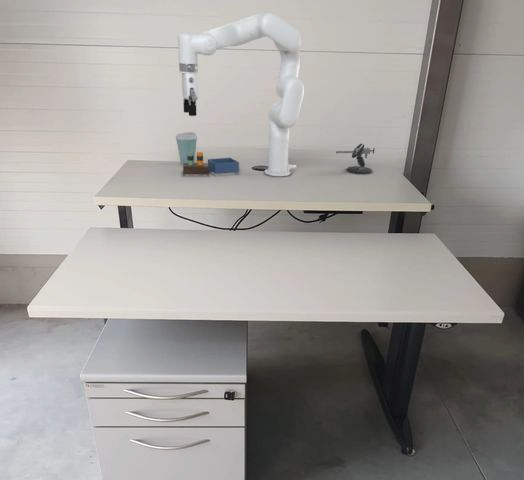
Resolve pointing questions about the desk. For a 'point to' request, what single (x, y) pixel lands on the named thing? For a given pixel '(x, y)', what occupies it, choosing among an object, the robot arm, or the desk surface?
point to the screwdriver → (199, 158)
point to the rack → (195, 168)
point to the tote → (223, 165)
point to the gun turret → (359, 159)
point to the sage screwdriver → (190, 158)
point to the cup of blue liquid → (186, 145)
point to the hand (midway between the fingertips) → (190, 114)
